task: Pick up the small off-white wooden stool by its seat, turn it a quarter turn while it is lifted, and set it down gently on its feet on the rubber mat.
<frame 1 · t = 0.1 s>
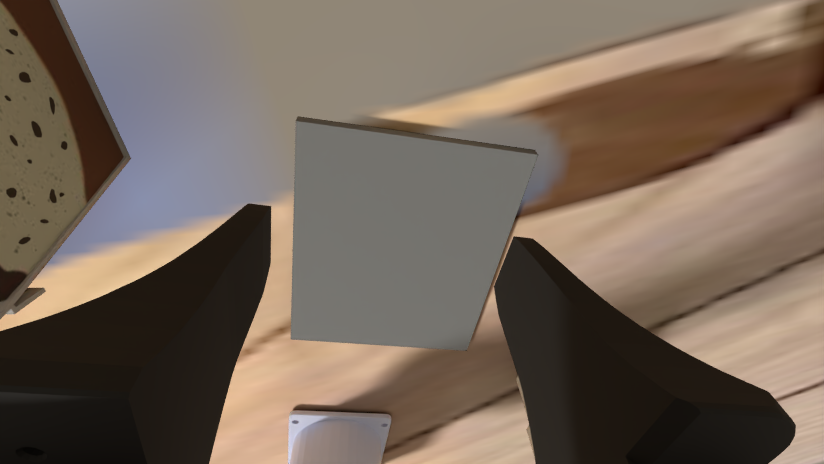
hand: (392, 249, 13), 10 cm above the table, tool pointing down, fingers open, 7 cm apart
mat: (398, 252, 26), on the table
food container: (15, 63, 19), on the table
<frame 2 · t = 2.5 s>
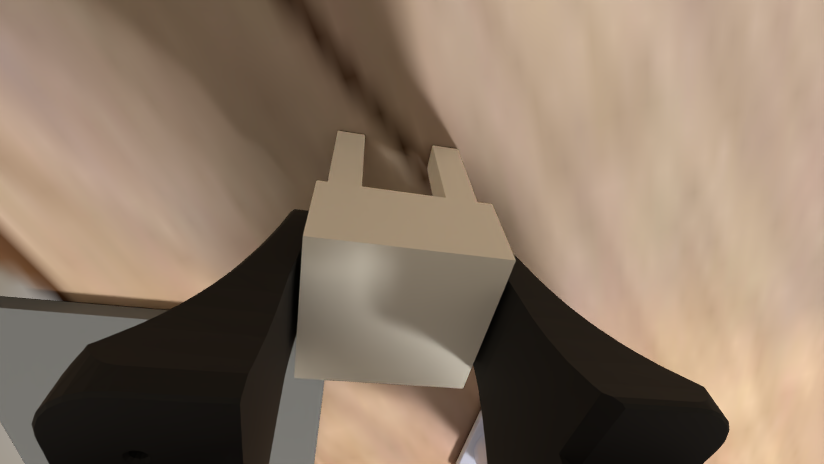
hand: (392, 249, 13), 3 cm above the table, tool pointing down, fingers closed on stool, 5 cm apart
mat: (167, 395, 21), on the table
stool: (389, 192, 16), on the table, touching gripper
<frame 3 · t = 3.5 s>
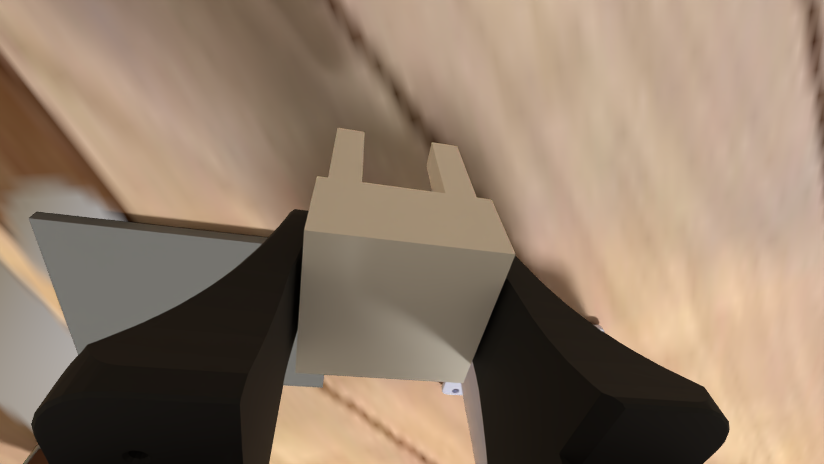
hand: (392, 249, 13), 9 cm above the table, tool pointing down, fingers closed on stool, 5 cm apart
mat: (204, 310, 26), on the table
food container: (118, 458, 35), on the table
stool: (389, 189, 16), point 6 cm above the table, touching gripper
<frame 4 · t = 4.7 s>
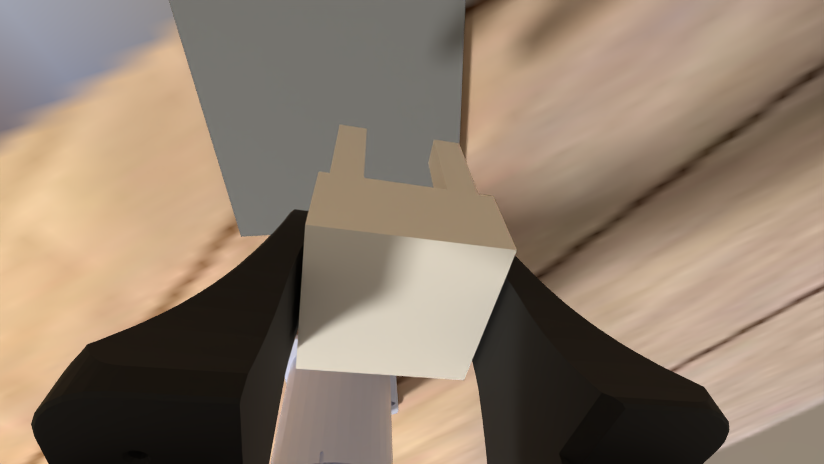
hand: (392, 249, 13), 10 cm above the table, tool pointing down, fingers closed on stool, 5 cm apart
mat: (333, 92, 20), on the table
stool: (390, 187, 16), point 7 cm above the table, touching gripper
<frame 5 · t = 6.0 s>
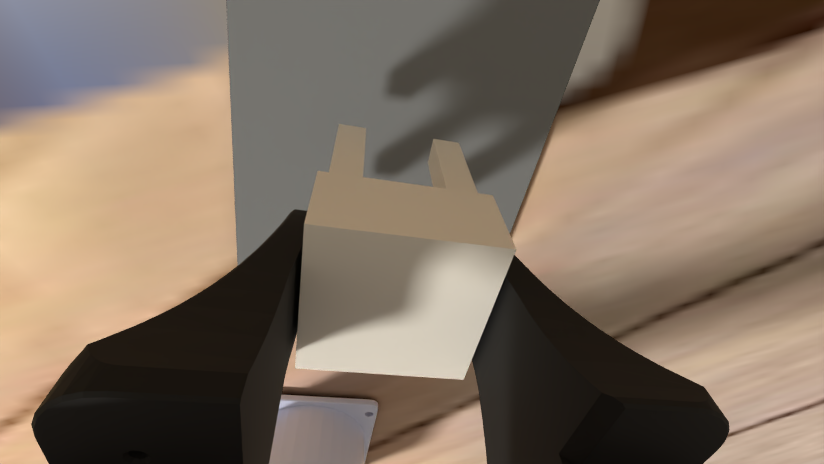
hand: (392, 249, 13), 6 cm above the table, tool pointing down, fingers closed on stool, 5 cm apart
mat: (387, 160, 18), on the table
stool: (390, 186, 16), point 3 cm above the table, touching gripper
when the fingers open (5 cm above the table, at t = 7.1 s): stool drops 1 cm, resting on mat.
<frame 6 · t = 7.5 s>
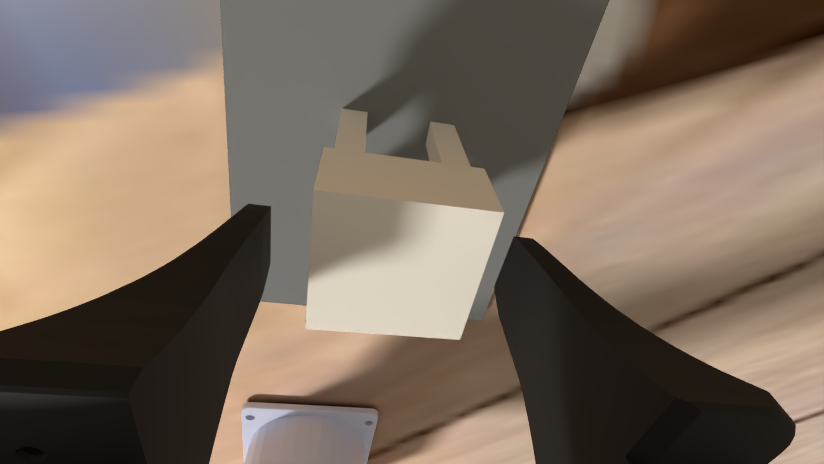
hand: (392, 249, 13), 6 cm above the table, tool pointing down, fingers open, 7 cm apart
mat: (388, 166, 17), on the table
stool: (390, 167, 17), point 1 cm above the table, touching mat
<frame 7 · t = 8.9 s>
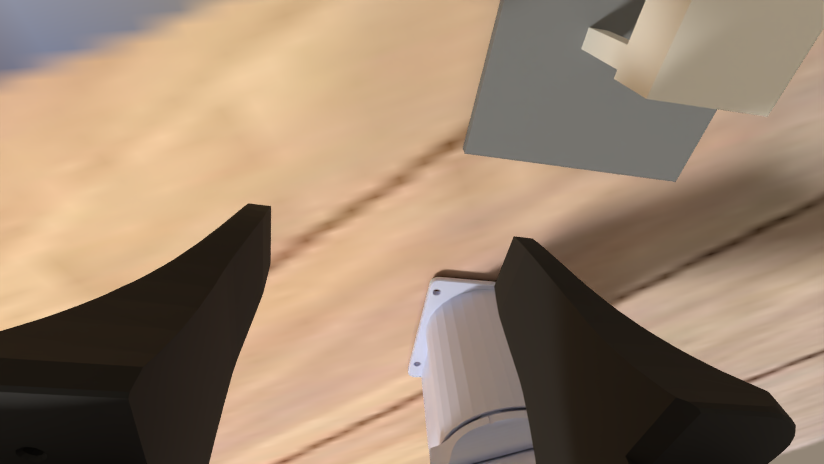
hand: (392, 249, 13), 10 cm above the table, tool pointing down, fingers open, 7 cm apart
mat: (632, 10, 19), on the table
stool: (643, 5, 19), point 1 cm above the table, touching mat
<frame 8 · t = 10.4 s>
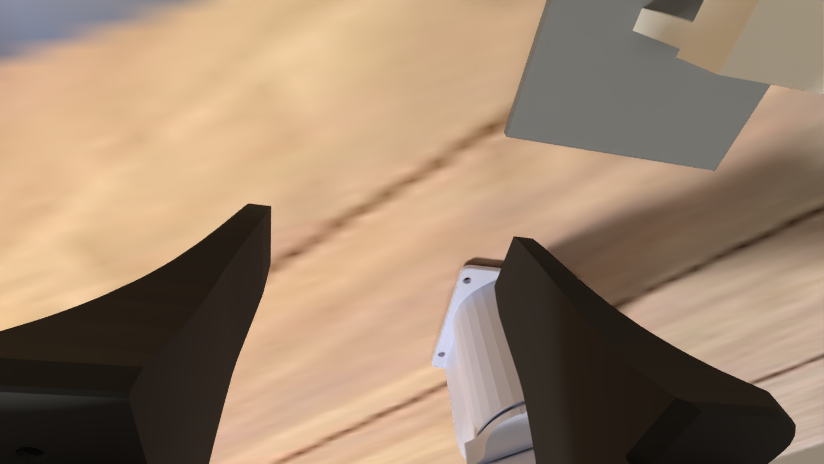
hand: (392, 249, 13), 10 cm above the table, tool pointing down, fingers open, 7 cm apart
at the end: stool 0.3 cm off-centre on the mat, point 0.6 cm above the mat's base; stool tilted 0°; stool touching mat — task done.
